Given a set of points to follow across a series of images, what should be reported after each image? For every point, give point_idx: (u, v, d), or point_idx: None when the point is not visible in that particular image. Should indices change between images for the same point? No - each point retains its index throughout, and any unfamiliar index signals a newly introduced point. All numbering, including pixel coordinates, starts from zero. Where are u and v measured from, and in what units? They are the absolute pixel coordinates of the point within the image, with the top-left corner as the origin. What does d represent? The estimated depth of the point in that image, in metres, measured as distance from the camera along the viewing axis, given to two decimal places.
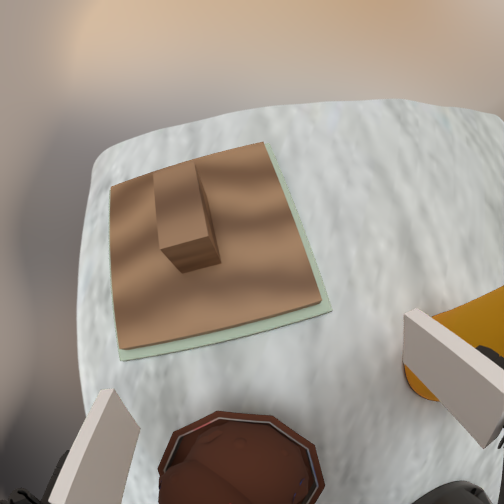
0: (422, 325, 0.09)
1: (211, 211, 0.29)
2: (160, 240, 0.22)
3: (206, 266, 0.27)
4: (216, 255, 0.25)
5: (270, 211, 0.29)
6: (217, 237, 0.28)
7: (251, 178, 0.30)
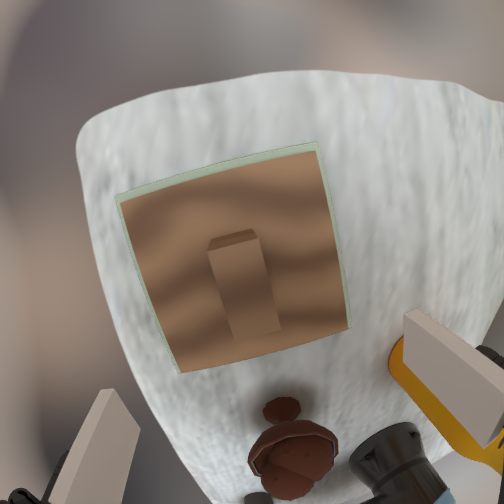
0: (422, 325, 0.09)
1: None
2: (234, 333, 0.23)
3: None
4: None
5: (318, 250, 0.28)
6: None
7: (301, 207, 0.27)
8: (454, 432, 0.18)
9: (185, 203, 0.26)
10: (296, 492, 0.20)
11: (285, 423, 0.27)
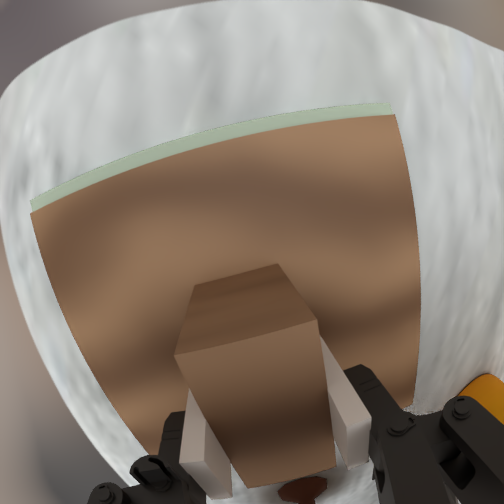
0: None
1: None
2: (246, 481, 0.09)
3: None
4: None
5: (393, 299, 0.14)
6: None
7: (372, 220, 0.13)
8: None
9: (140, 211, 0.12)
10: None
11: None
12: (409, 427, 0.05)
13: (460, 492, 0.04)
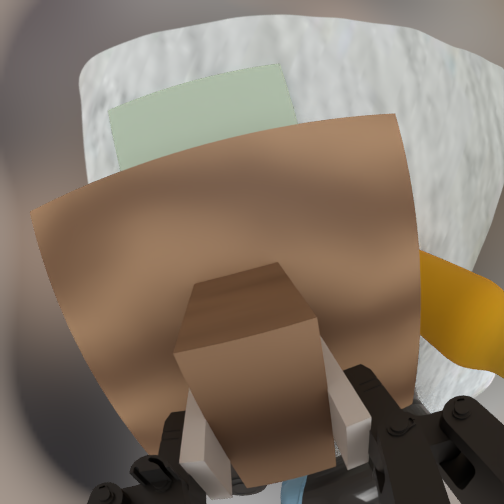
0: None
1: None
2: (245, 480, 0.09)
3: None
4: None
5: (393, 298, 0.14)
6: None
7: (373, 219, 0.13)
8: (443, 328, 0.21)
9: (140, 210, 0.12)
10: None
11: None
12: (409, 427, 0.05)
13: (460, 493, 0.04)
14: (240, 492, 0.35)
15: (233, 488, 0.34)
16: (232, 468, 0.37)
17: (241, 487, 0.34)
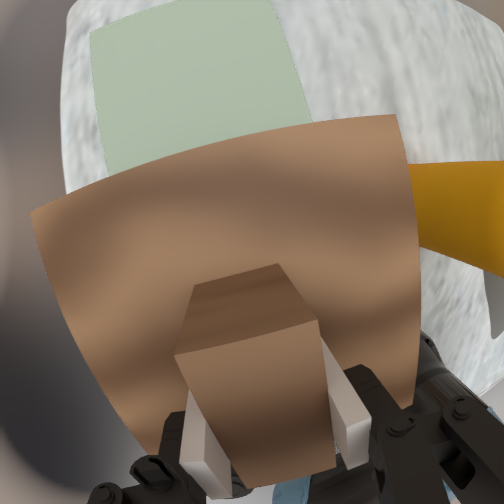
0: None
1: None
2: (246, 481, 0.09)
3: None
4: None
5: (394, 299, 0.14)
6: None
7: (373, 220, 0.13)
8: (489, 216, 0.13)
9: (140, 211, 0.12)
10: None
11: None
12: (409, 427, 0.05)
13: (460, 493, 0.04)
14: None
15: None
16: None
17: None
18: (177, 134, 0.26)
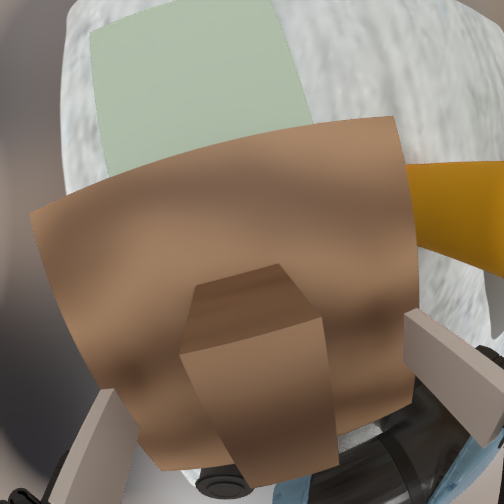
0: (422, 325, 0.09)
1: None
2: (249, 481, 0.09)
3: None
4: None
5: (392, 298, 0.14)
6: None
7: (372, 220, 0.13)
8: (490, 217, 0.13)
9: (141, 212, 0.12)
10: None
11: None
12: None
13: None
14: (220, 495, 0.27)
15: (210, 489, 0.26)
16: None
17: (221, 488, 0.26)
18: (177, 134, 0.26)
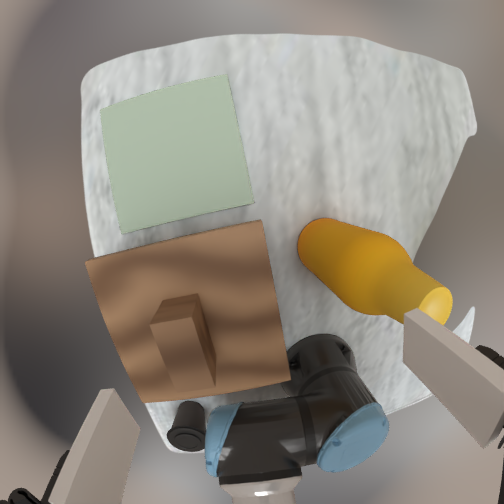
0: (422, 325, 0.09)
1: (204, 310, 0.30)
2: (176, 387, 0.25)
3: None
4: (215, 365, 0.29)
5: (260, 314, 0.30)
6: (211, 335, 0.30)
7: (244, 275, 0.29)
8: (334, 271, 0.29)
9: (139, 267, 0.28)
10: None
11: None
12: None
13: None
14: (184, 445, 0.42)
15: (177, 439, 0.42)
16: (178, 420, 0.45)
17: (184, 439, 0.42)
18: (162, 199, 0.42)
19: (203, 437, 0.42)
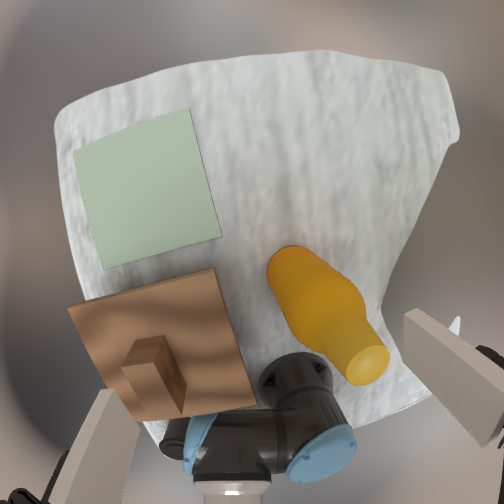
0: (422, 325, 0.09)
1: (171, 348, 0.32)
2: (149, 414, 0.27)
3: None
4: (184, 394, 0.31)
5: (221, 351, 0.32)
6: (180, 368, 0.33)
7: (202, 319, 0.31)
8: (286, 313, 0.31)
9: (113, 314, 0.30)
10: None
11: None
12: None
13: None
14: (175, 455, 0.45)
15: (167, 449, 0.44)
16: (168, 432, 0.47)
17: (174, 449, 0.44)
18: (136, 236, 0.44)
19: None
